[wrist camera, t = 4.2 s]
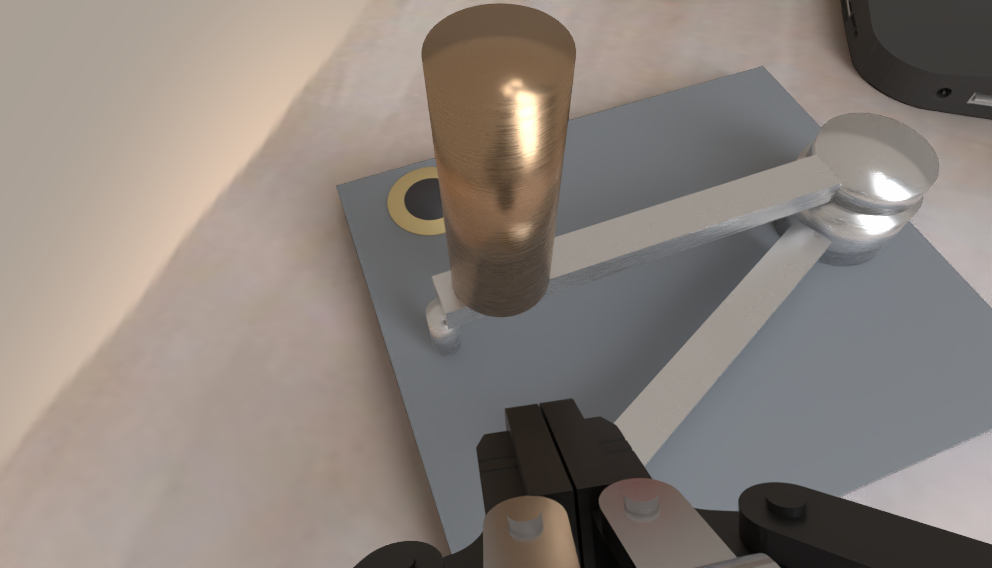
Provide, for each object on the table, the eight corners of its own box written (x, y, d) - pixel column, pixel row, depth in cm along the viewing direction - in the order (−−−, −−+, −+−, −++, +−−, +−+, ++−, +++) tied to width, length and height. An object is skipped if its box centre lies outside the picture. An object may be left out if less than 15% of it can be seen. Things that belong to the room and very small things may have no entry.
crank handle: (844, 162, 25) (1049, -143, 16) (911, 234, 23) (1192, -65, 14) (416, 300, 22) (348, 20, 12) (451, 399, 20) (403, 154, 10)
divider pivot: (811, 163, 26) (839, 118, 24) (907, 225, 24) (946, 182, 22) (476, 445, 20) (473, 418, 18) (572, 557, 18) (582, 542, 16)
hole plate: (752, 90, 31) (763, 63, 29) (1038, 409, 22) (1075, 391, 20) (344, 208, 27) (335, 183, 25) (483, 654, 18) (482, 652, 16)
